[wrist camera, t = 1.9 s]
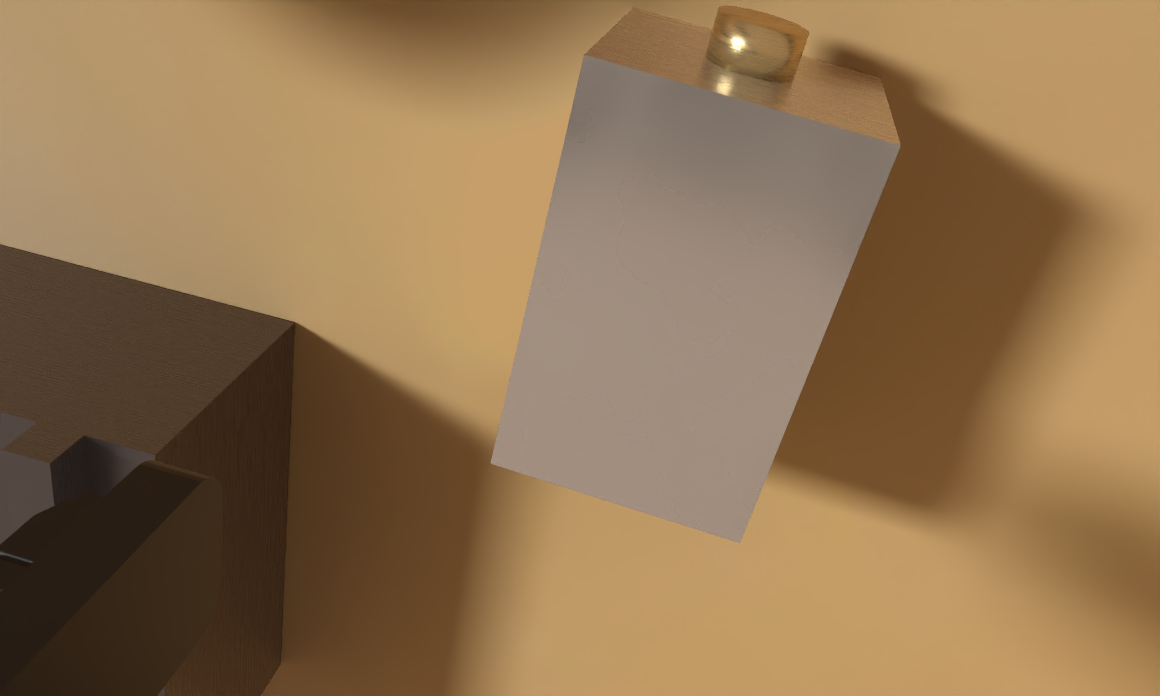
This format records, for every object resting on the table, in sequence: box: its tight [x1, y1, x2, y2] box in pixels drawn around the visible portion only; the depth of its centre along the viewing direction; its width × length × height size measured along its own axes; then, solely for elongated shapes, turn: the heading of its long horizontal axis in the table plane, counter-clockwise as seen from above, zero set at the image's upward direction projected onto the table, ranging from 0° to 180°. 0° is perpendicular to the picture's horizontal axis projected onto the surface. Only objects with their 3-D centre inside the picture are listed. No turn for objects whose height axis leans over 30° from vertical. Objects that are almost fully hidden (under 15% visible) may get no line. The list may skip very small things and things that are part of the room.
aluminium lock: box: [490, 6, 901, 543], centre depth 19 cm, size 9×5×5 cm, turn 167°
